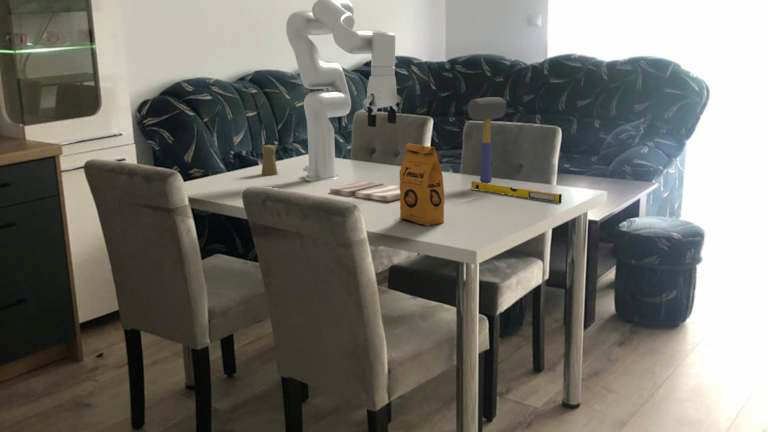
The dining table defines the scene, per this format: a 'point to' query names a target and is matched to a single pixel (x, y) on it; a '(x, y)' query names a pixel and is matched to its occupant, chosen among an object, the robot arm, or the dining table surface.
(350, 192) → the floor board
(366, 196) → the ash plank
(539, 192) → the spirit level
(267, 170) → the cork
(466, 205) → the dining table surface
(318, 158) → the robot arm
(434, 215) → the coffee package
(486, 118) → the rubber mallet
